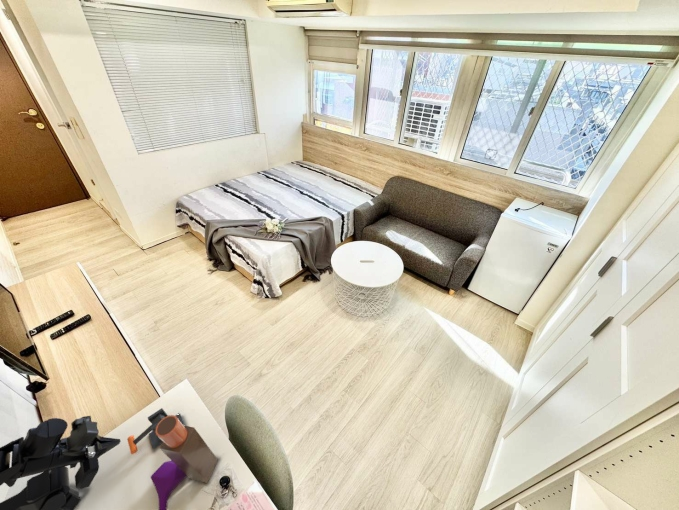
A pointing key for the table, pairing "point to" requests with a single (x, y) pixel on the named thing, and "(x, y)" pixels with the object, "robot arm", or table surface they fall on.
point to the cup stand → (193, 456)
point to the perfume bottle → (166, 481)
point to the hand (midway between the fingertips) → (119, 441)
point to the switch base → (153, 437)
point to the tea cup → (171, 431)
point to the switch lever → (142, 435)
